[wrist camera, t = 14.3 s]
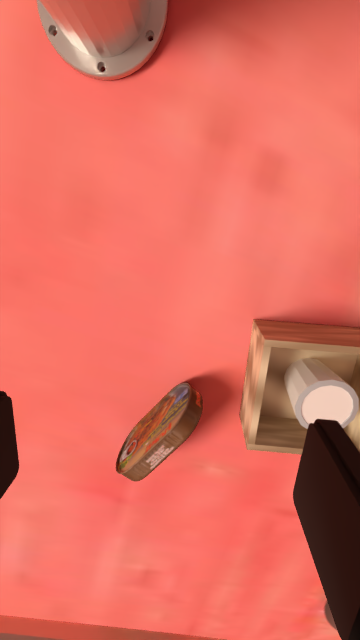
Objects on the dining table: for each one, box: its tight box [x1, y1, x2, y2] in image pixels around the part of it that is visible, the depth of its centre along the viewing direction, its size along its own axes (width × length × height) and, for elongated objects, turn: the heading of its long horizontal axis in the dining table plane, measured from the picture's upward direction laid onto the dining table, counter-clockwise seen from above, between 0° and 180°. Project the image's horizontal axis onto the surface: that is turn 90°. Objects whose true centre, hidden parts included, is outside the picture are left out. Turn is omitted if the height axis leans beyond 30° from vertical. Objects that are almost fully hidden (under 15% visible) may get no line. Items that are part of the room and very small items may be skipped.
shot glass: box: [284, 358, 359, 429], centre depth 38 cm, size 7×7×7 cm
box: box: [239, 319, 360, 454], centre depth 39 cm, size 14×14×7 cm
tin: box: [116, 383, 203, 481], centre depth 41 cm, size 15×3×8 cm, turn 138°
